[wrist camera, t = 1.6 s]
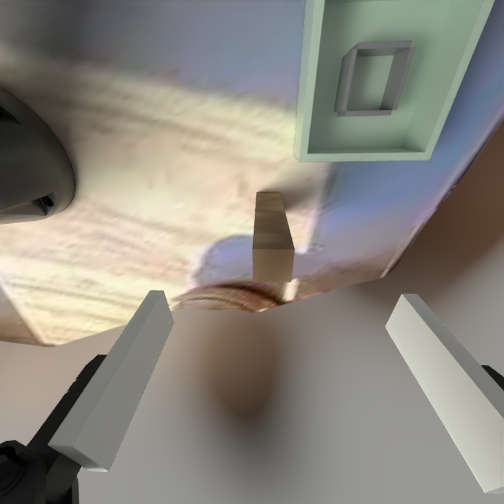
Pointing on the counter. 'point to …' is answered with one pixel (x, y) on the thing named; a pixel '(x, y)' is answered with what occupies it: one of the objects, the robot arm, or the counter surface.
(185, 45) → the counter surface
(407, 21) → the pale green square tray
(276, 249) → the wooden square beam
